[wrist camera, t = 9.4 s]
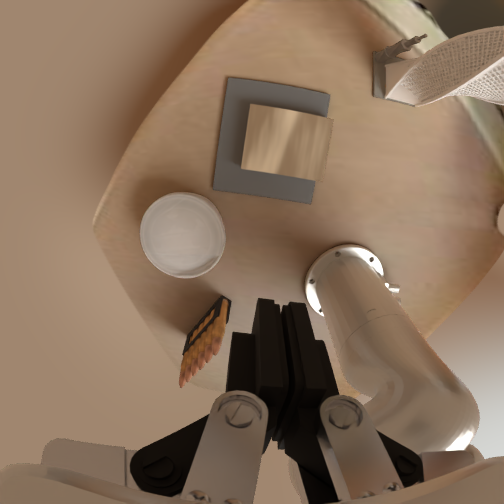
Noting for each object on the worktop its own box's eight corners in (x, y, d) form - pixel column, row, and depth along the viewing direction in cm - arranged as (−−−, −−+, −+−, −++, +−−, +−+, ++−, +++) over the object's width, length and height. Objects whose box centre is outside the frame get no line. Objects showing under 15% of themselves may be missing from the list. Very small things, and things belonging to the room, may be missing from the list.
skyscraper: (422, 66, 29) (575, 41, 3) (423, 116, 32) (588, 133, 6) (372, 51, 29) (519, -18, 3) (372, 104, 32) (545, 88, 6)
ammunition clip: (222, 294, 43) (212, 347, 32) (231, 301, 44) (225, 354, 33) (187, 335, 47) (172, 387, 36) (196, 341, 47) (183, 393, 36)
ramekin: (180, 274, 42) (171, 292, 37) (137, 213, 38) (122, 224, 34) (244, 238, 40) (243, 253, 35) (200, 170, 36) (192, 175, 31)
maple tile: (250, 106, 32) (328, 120, 33) (241, 166, 35) (318, 179, 36) (250, 103, 30) (333, 119, 30) (240, 168, 33) (322, 182, 34)
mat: (329, 95, 32) (330, 94, 31) (310, 203, 38) (311, 204, 37) (228, 78, 31) (228, 77, 31) (213, 189, 37) (212, 189, 36)
